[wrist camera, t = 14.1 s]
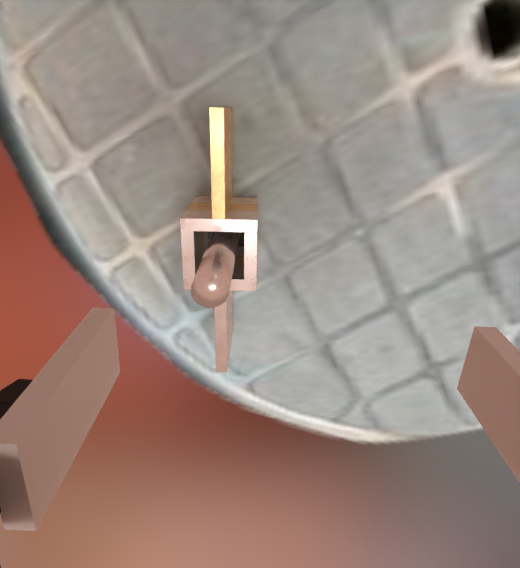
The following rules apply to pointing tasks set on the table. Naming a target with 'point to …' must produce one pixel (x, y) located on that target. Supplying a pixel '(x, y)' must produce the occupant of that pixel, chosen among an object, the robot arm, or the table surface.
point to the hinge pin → (215, 270)
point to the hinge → (221, 229)
